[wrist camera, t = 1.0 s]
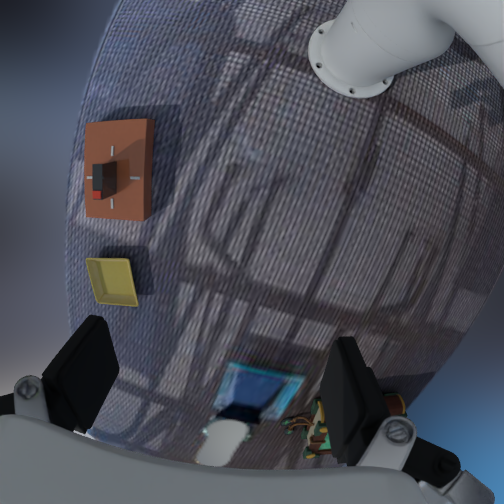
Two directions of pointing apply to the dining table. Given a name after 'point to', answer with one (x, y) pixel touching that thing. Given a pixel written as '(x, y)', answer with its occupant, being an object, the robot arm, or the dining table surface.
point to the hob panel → (121, 167)
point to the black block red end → (104, 180)
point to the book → (318, 428)
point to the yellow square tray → (112, 281)
